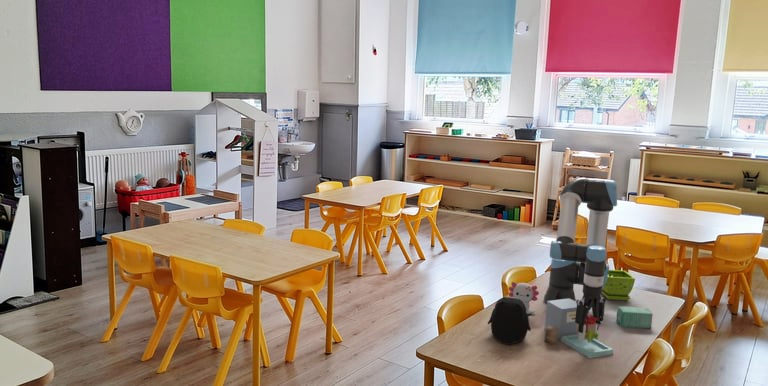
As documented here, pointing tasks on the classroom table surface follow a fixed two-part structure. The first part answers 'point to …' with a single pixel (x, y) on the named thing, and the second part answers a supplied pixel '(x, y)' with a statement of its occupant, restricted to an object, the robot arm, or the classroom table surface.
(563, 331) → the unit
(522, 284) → the toy
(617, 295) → the flower pot
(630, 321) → the box
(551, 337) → the walnut dowel
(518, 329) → the penguin
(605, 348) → the tray
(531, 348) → the classroom table surface
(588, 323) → the bird rattle
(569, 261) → the robot arm
